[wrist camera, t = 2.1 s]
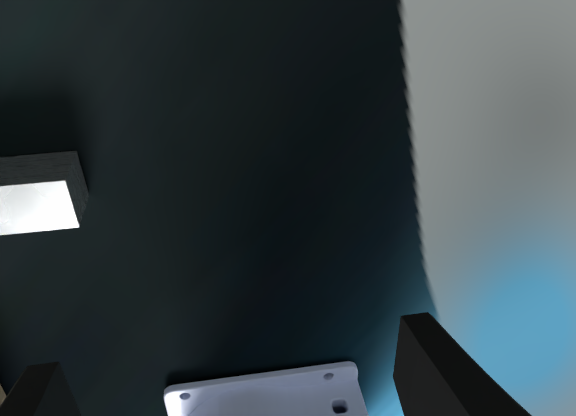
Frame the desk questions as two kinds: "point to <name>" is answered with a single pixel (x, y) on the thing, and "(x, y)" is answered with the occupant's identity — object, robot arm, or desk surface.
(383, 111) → the desk surface
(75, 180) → the bar
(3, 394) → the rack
